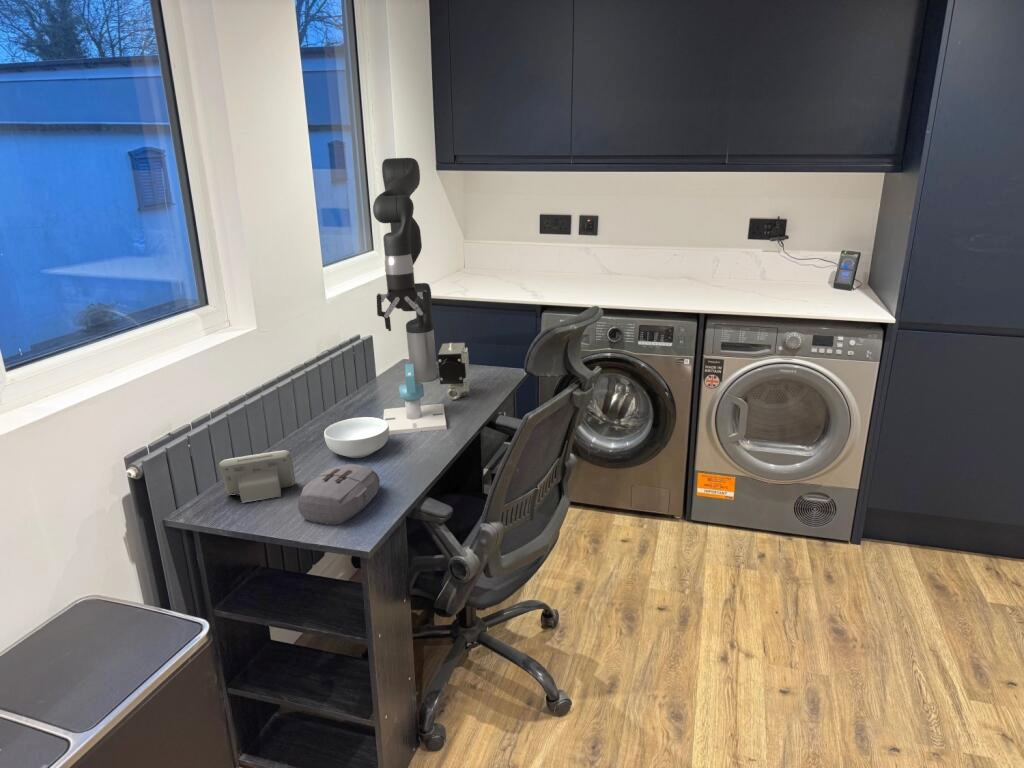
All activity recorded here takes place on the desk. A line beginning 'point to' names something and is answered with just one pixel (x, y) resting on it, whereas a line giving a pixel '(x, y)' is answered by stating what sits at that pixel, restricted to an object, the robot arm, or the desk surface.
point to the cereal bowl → (357, 436)
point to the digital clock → (258, 475)
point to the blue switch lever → (410, 385)
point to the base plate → (423, 420)
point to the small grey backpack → (338, 494)
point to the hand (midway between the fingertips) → (405, 329)
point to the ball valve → (454, 368)
